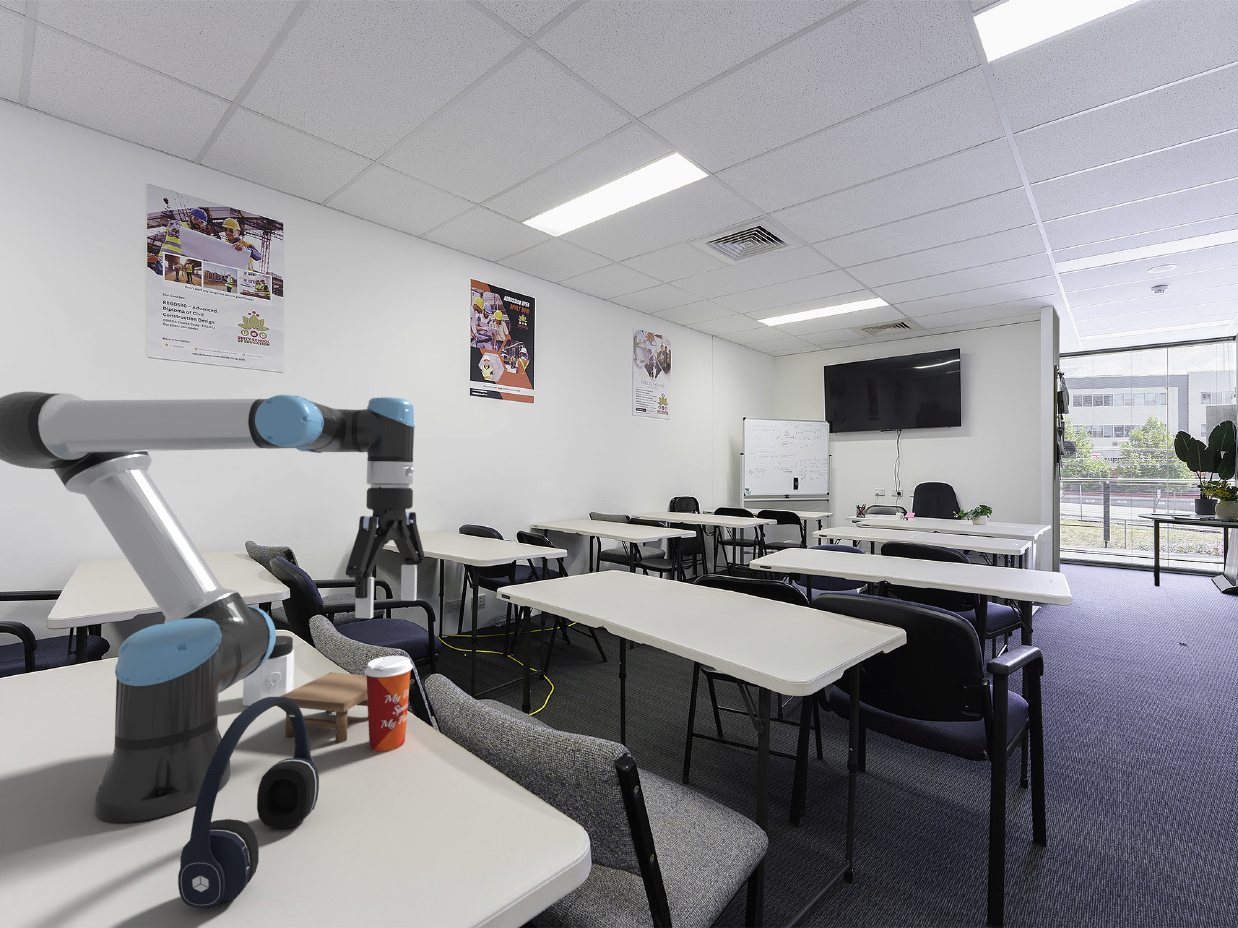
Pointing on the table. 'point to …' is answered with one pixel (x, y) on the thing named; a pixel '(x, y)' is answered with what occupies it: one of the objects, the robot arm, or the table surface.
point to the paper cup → (387, 701)
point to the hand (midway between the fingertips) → (387, 608)
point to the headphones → (230, 847)
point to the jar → (272, 674)
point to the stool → (330, 700)
